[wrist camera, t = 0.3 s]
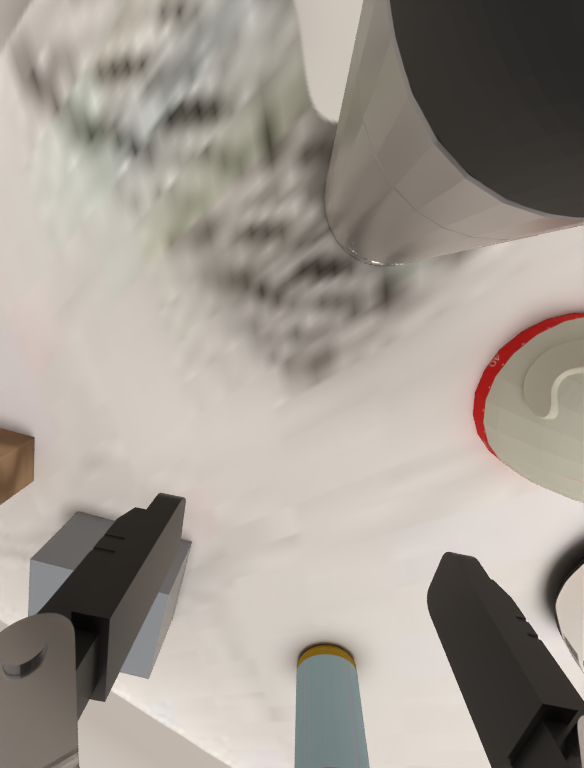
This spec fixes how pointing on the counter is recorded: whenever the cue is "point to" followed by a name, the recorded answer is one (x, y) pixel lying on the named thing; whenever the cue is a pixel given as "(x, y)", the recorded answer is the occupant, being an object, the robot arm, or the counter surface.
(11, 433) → the walnut cube
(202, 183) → the counter surface
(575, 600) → the milk container
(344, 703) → the bottle
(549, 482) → the kitchen timer
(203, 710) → the counter surface
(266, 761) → the counter surface
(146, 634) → the gray square block
